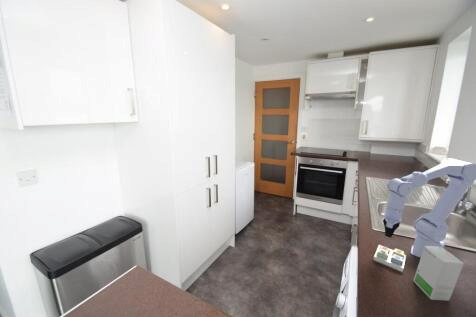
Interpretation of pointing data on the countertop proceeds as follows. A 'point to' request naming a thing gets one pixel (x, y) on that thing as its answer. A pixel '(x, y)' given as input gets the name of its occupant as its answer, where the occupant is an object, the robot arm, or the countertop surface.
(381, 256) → the key sage
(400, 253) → the key mustard
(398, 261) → the key slate
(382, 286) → the countertop surface
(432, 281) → the skincare box
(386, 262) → the keypad board
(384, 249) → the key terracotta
